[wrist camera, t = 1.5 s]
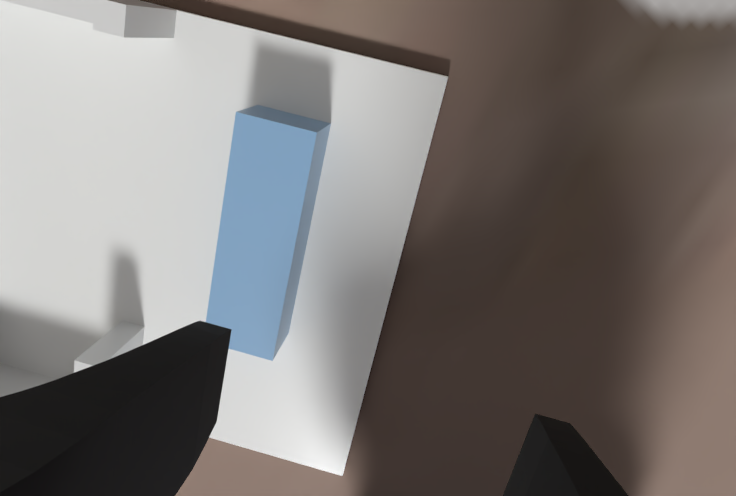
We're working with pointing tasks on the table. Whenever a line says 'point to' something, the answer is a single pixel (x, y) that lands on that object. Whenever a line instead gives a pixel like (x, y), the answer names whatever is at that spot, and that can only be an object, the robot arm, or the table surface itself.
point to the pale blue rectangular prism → (265, 226)
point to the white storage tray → (195, 203)
